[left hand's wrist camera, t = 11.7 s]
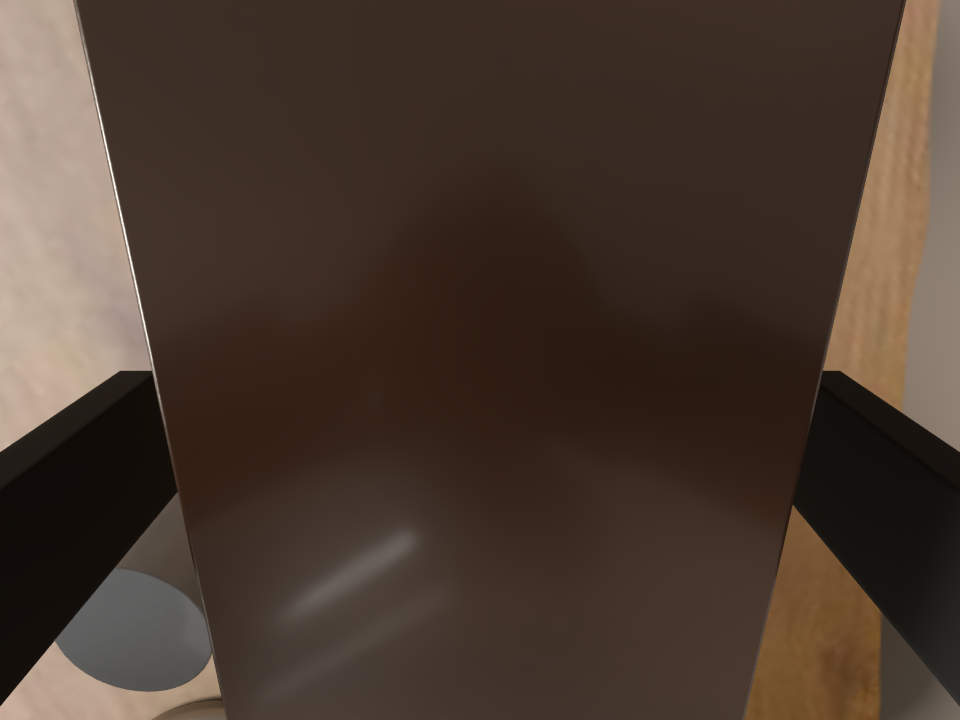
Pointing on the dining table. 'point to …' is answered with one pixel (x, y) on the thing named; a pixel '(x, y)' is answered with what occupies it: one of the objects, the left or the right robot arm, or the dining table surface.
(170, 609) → the grey cylinder
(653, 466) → the walnut box
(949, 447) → the left robot arm
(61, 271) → the dining table surface
